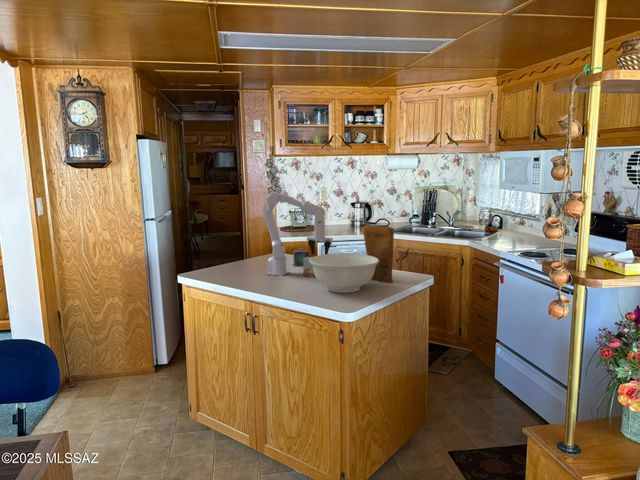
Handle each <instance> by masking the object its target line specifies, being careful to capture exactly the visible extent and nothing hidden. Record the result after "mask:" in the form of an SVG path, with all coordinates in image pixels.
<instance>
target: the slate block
mask: <svg viewBox="0 0 640 480" xmlns="http://www.w3.org/2000/svg"><path fill="white" fill-rule="evenodd" d="M312 257H313V256H311V257H310V256H309V257H306V258H304V259H303V267H302V269H303V268H309V269H312V268H313V266H312V264H311V263H310V262H309V260H310V259H311V258H312Z"/></svg>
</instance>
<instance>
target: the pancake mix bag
mask: <svg viewBox="0 0 640 480" xmlns="http://www.w3.org/2000/svg"><path fill="white" fill-rule="evenodd" d="M362 235H363V240H364V241H363V242H364V247H365V252H366V253H365V254H366V255H369V256H373V257H375V258H377V259H378V260H379V262H378V264H377V265H376V267H375V271H374V275H373V277H372V278H371V280H372V279H374V280H373V281H376V280H378V281H377V282H381V281H382V282H381V283H384V282H392V283H394V282H393V281H394V280H393V259H394V239H395V236H394V235H395V228H393V227H392V226H383V225H382V226H381V225H379V226H378V225H375V226H374V225H364V226H362Z"/></svg>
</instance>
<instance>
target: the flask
mask: <svg viewBox="0 0 640 480" xmlns="http://www.w3.org/2000/svg"><path fill="white" fill-rule="evenodd" d="M309 253H310V252H309V251H308V250H304V249H303V247H300V248H299V250H294V251H292V254H293V255H292V256H293V259H292V260H293V264H292V265H293V267H298V266H303V259H304V258H306V257H310V255H309Z"/></svg>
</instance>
